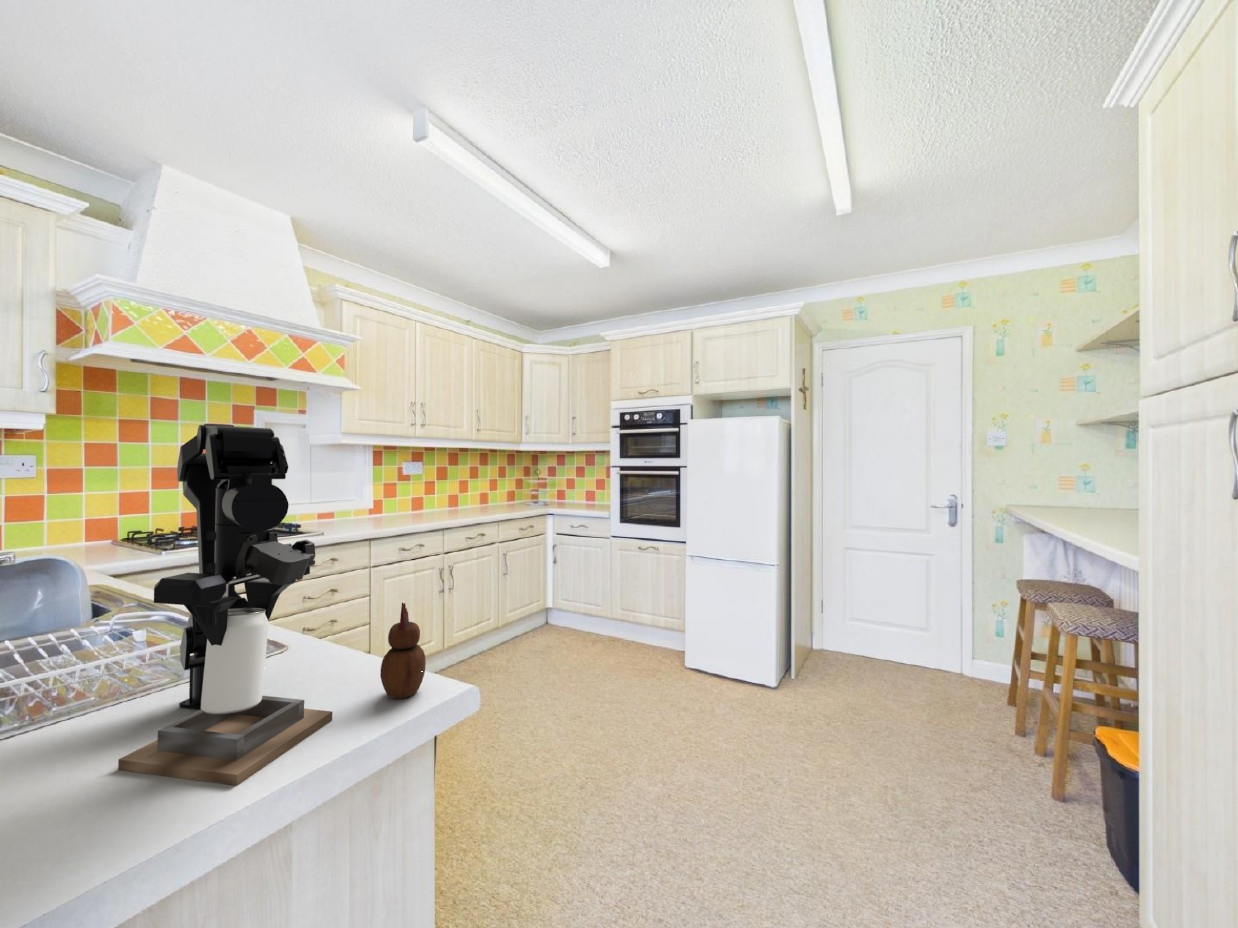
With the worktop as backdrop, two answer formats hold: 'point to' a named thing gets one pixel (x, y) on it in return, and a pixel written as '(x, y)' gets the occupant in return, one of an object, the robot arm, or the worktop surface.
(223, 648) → the can
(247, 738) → the holder
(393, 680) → the wooden figurine
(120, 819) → the worktop surface
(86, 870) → the worktop surface
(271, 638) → the worktop surface
